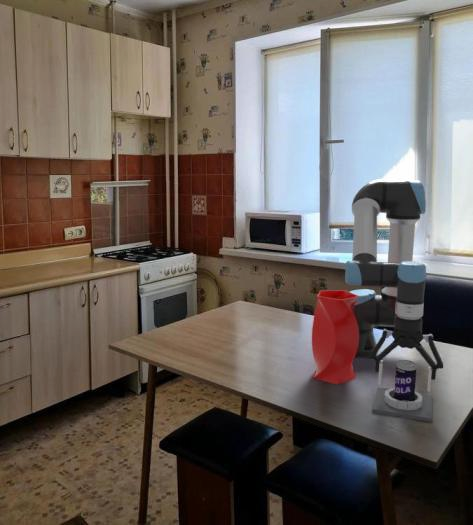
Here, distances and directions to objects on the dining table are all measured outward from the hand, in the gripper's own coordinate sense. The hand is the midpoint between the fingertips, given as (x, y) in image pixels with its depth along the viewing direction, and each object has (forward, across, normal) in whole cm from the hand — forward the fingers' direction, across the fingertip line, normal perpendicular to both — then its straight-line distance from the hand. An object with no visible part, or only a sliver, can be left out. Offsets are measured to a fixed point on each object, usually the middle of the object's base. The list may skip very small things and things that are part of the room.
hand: (403, 386), depth 148 cm
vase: (+6, -22, +14) cm, 27 cm away
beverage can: (+5, 0, 0) cm, 5 cm away
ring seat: (+6, 0, 0) cm, 6 cm away
